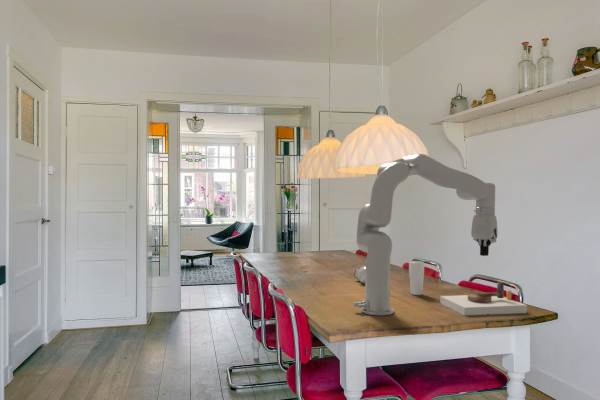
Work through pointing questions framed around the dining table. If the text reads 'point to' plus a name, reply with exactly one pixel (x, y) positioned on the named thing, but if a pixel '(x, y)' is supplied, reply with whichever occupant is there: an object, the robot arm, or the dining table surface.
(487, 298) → the brown l-shaped piece
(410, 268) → the drinking glass
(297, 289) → the dining table surface
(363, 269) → the potion bottle
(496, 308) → the stand
